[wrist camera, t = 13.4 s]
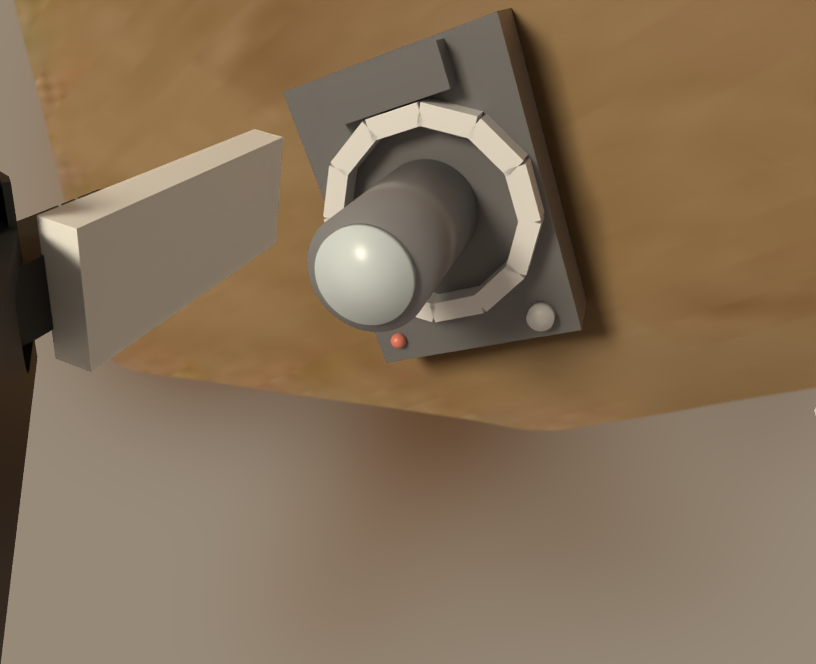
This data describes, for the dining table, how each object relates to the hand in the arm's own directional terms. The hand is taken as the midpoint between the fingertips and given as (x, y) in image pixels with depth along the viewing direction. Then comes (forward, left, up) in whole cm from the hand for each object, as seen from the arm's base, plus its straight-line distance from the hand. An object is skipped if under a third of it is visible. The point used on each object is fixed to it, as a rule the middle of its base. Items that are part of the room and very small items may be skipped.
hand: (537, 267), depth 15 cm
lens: (+3, -11, -23) cm, 25 cm away
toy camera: (+3, -10, -27) cm, 29 cm away
